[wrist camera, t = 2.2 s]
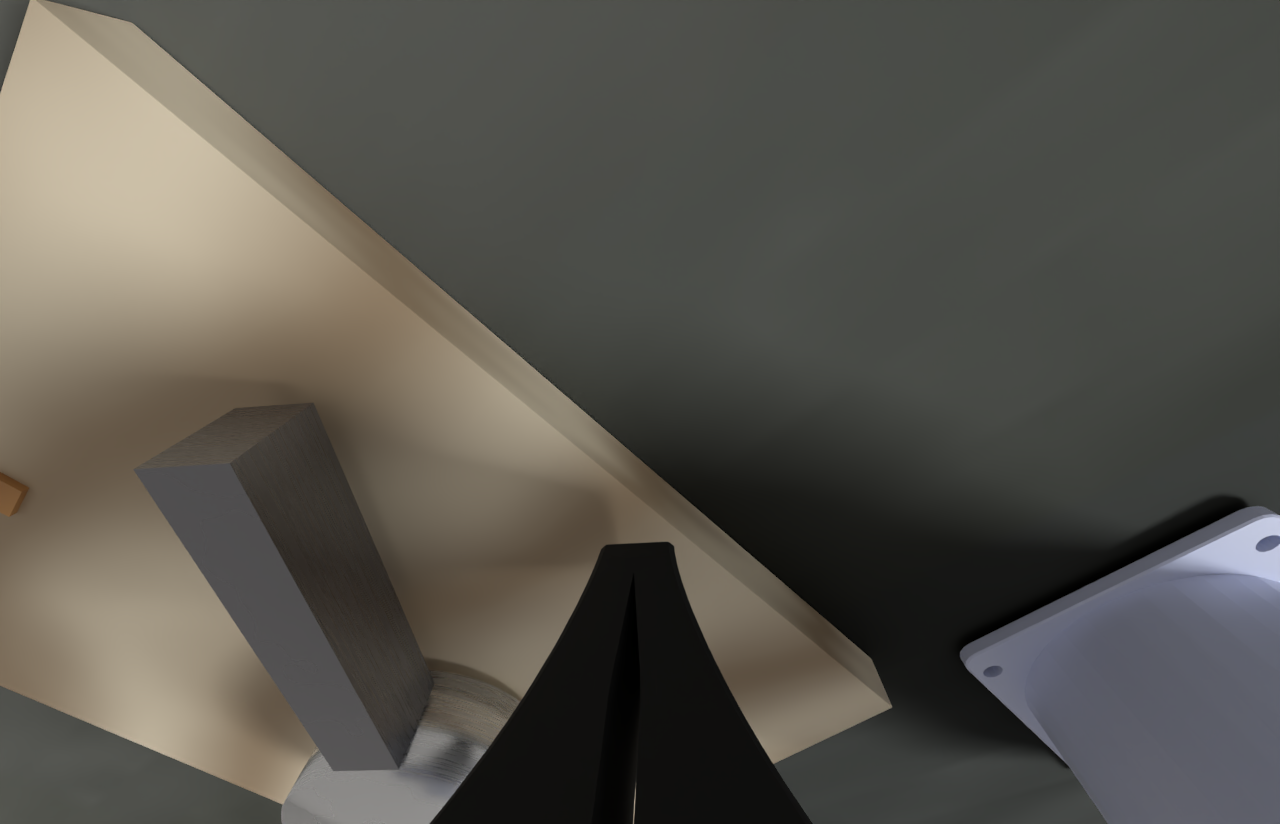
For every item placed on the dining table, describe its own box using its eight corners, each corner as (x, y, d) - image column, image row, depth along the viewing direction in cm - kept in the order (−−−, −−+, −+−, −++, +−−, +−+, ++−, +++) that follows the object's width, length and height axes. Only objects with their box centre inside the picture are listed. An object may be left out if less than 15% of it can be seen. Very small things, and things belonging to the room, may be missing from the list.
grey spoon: (561, 790, 16) (546, 890, 13) (377, 794, 16) (335, 892, 14) (442, 385, 9) (378, 454, 7) (140, 406, 10) (-8, 478, 7)
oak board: (871, 658, 15) (936, 808, 12) (507, 847, 21) (478, 983, 18) (131, 22, 8) (-247, -76, 5) (-92, 572, 14) (-328, 704, 11)
